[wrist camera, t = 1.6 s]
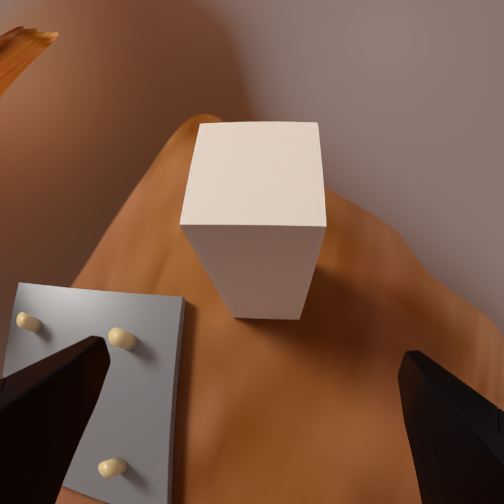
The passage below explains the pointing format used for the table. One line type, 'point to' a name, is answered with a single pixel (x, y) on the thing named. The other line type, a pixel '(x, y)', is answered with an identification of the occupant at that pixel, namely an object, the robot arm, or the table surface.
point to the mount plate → (112, 383)
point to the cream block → (257, 213)
